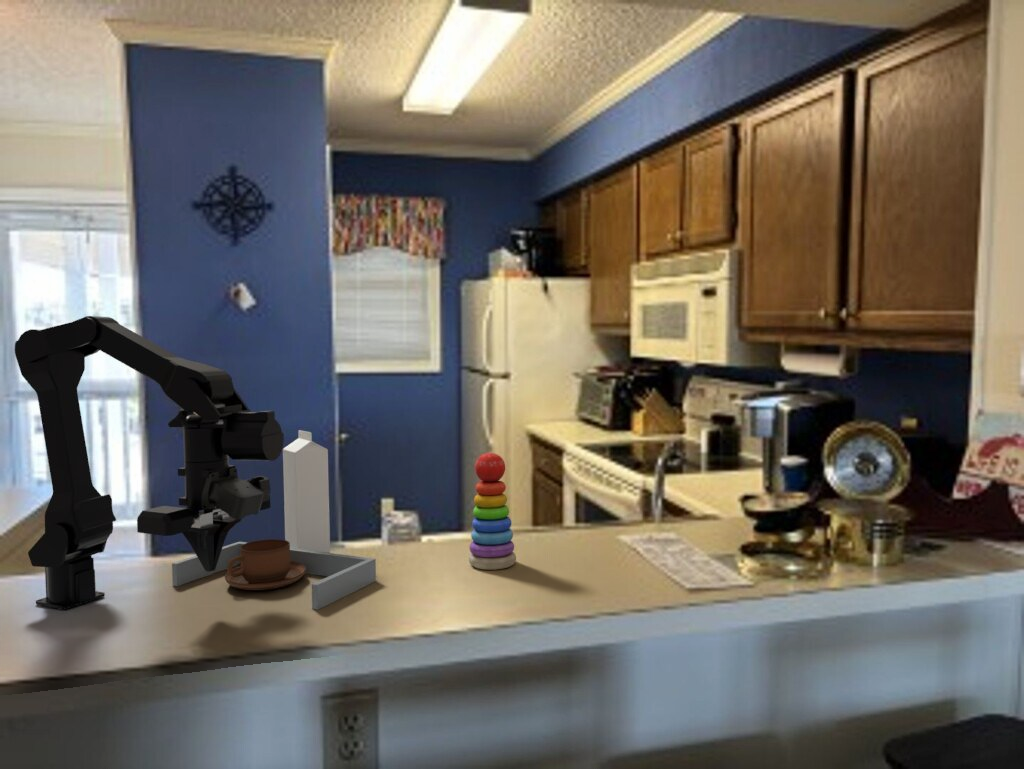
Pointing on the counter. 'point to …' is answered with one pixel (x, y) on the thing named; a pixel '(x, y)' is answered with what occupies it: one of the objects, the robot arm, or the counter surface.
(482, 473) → the stacking toy
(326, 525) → the milk
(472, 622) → the counter surface
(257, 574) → the cup and saucer
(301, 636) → the counter surface
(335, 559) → the u-shaped low fence
